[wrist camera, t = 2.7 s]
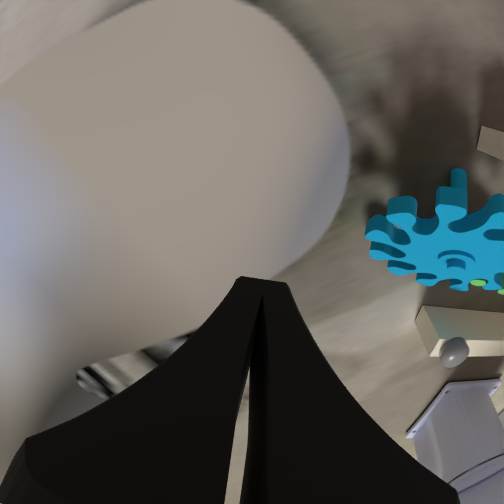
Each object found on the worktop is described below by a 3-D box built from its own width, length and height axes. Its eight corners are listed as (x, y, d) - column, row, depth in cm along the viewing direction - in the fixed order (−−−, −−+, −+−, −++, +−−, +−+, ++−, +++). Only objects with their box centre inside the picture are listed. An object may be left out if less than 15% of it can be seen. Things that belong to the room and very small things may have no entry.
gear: (323, 248, 16) (497, 190, 7) (344, 159, 18) (476, 74, 9) (441, 309, 19) (567, 296, 10) (450, 235, 21) (560, 203, 12)
